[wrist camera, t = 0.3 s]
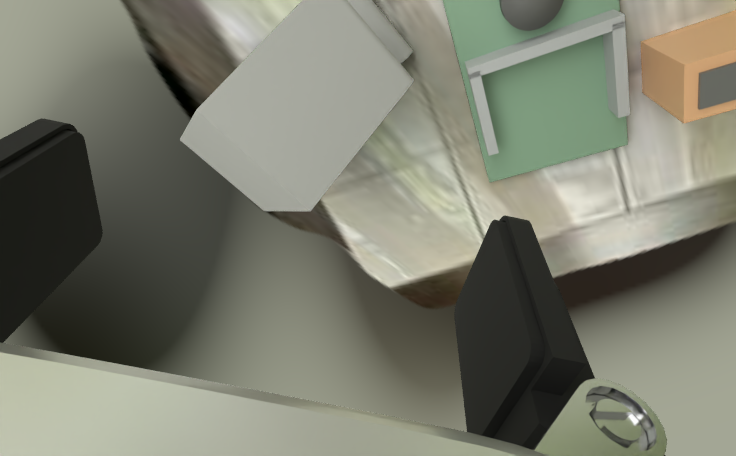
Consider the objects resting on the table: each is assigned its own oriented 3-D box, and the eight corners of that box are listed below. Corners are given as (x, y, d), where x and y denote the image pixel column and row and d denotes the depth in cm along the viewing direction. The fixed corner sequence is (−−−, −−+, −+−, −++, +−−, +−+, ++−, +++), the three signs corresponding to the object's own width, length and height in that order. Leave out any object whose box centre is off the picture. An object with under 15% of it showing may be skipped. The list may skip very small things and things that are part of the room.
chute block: (640, 41, 40) (686, 65, 34) (741, 8, 38) (812, 27, 31) (642, 92, 43) (685, 124, 36) (736, 64, 41) (801, 92, 34)
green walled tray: (439, -11, 39) (442, -6, 36) (608, -80, 35) (627, -79, 32) (488, 177, 49) (493, 194, 46) (623, 139, 46) (638, 155, 43)
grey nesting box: (289, 160, 50) (230, 274, 34) (223, 98, 47) (122, 194, 31) (413, 47, 42) (414, 128, 26) (345, -37, 39) (296, -5, 22)
